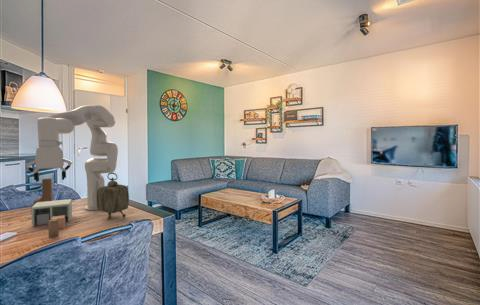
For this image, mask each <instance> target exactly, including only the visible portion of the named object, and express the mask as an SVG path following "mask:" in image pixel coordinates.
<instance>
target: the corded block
mask: <svg viewBox="0 0 480 305" xmlns="http://www.w3.org/2000/svg"><path fill="white" fill-rule="evenodd" d="M47 225H48V238H49V239H50V238H57V237H58V236H59V234H60V233H59V231H60V230H59V229H64V228H65V227H66V217H65V215H61V216H53V217H52V218H51V220H49V221H48V224H47Z"/></svg>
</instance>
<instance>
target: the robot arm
mask: <svg viewBox="0 0 480 305" xmlns="http://www.w3.org/2000/svg"><path fill="white" fill-rule="evenodd" d="M36 122H37V123H36V124H37V125H36V126H37V139H38V140H37V141H38V147H36V150H35V159H34V160H32V161H29V162H27V163H25V166H26V168H27V169H28V170H29V171H30V172H32V173H33V180H34V181H35V183H38V182H39V181H40V174H39V171H40V170H44V169H60V170H61V180H62V181H64V180H65V179H66V178H67V171H68V170H69V169H70V167H71V165H72V164H73V162H72V161H71V160H68V159H66V158H64V155H63V153H64V152H63V149H62V146H61V145H63V144H64V142H63V141H61V140H59V138H60V135H63V134H65V135H66V134H70V133H72V132H73V131H74V130H75V126H76V127H77V126H82V125H83V124H84V123H86V125H87V127H88V129H89V131H90V132H91V140H90V147H89V153H90V156H93V158H89V159H87V160H86V161H85V162H84V170H85V173H86V187H87V188H86V191H87V193H86V194H87V205H85V206H84V210H86V211H99V210H98V208H97V190H98V189H99V188H100V187H103V186H106V185H105V182H106V181H105V177H104V176H103V175H102V174H109V173H115V171H116V168H117V162H118V153H119V151H118V150H119V148H118V145H117V144H116V142H112V141H107V140H108V139H107V138H108V135H107V133H106V131H105V130H104V128H112V127H114V126H115V125H116V118H115V116H114V115H113V113H111V112H110V111H109V110H108V109H107V108H105V106H102V105H101V104H97V105H96V104H88V105H87V104H86V105H82V106H79V107H77V108H75V109H73V110H69V111H64V112H60V113H55V114H50V115H48V116H46V117H39V118H38V119H37V121H36ZM94 157H95V158H94ZM96 157H97V158H96ZM99 157H100V158H99ZM101 157H102V158H101ZM103 157H104V158H103ZM105 157H106V158H105ZM65 163H66V164H67V165H66V166H64V164H65ZM34 164H35V168H34V167H33V166H32V165H34Z"/></svg>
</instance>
